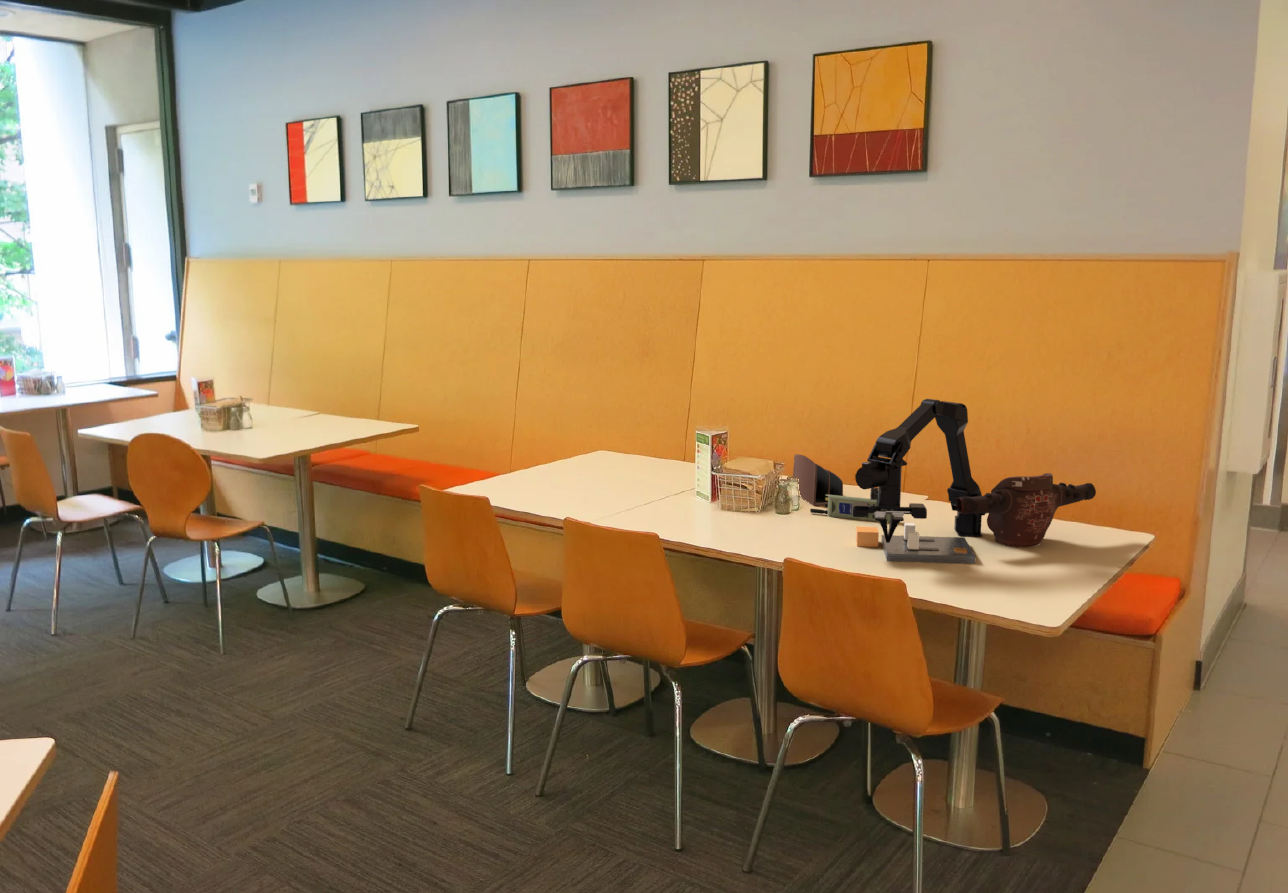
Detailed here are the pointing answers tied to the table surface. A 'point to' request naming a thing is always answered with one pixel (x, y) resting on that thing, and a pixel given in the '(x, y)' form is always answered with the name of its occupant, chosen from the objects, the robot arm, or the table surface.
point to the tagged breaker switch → (913, 540)
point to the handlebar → (1024, 507)
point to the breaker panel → (929, 550)
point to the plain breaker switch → (908, 529)
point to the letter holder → (815, 481)
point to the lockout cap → (867, 536)
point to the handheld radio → (846, 507)
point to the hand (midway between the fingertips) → (887, 542)
